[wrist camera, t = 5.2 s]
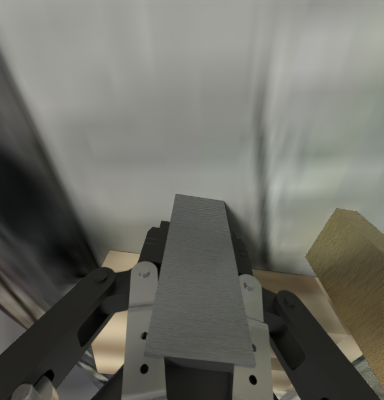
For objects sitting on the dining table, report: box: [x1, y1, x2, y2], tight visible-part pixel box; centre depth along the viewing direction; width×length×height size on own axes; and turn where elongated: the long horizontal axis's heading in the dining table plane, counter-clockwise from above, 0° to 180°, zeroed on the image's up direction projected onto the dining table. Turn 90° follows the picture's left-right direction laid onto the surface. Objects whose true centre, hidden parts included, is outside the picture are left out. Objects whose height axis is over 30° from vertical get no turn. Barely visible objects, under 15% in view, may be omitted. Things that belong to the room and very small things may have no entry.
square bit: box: [144, 194, 256, 372], centre depth 12 cm, size 4×4×10 cm
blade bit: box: [305, 208, 384, 389], centre depth 13 cm, size 5×2×9 cm, turn 171°
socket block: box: [91, 250, 362, 392], centre depth 20 cm, size 12×22×5 cm, turn 81°
